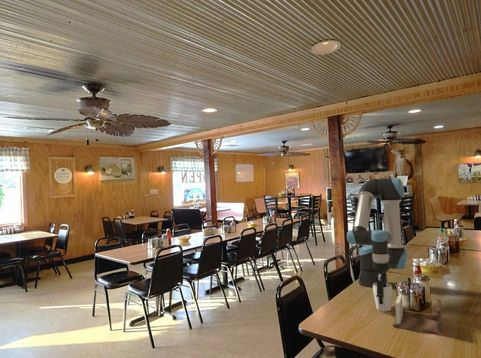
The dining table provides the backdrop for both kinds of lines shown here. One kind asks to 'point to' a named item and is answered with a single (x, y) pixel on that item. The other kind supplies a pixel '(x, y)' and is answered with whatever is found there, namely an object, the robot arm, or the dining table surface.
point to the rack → (422, 321)
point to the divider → (399, 309)
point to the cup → (387, 296)
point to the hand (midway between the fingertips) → (383, 306)
